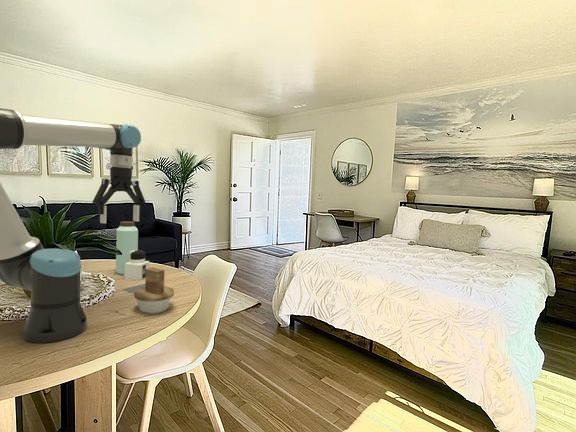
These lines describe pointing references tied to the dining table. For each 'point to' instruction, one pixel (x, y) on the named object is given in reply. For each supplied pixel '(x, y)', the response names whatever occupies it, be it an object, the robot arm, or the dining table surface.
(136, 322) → the dining table surface
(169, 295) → the lid
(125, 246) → the water bottle
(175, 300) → the dining table surface
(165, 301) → the ramekin
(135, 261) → the container
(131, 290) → the mat
